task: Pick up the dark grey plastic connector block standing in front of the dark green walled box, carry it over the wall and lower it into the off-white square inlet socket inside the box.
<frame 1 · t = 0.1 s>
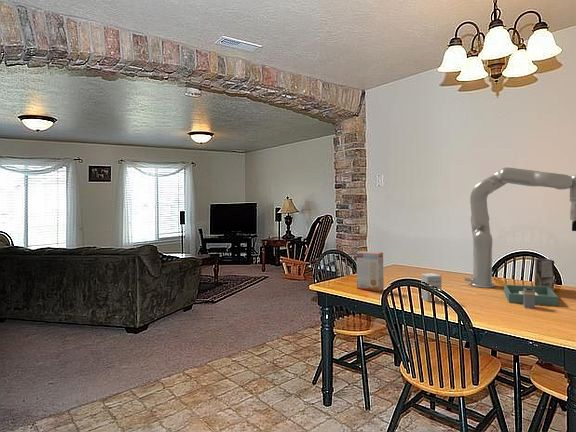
walled box: (529, 298, 201), on the table
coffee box: (544, 289, 220), on the table
cracker box: (370, 289, 228), on the table
connector: (528, 307, 186), on the table
supplement box: (431, 300, 202), on the table
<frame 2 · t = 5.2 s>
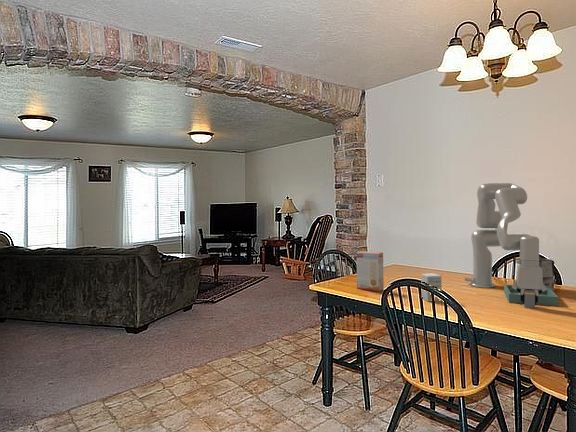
hand: (528, 303, 186), 2 cm above the table, tool pointing down, fingers closed on connector, 4 cm apart
connector: (528, 306, 186), on the table, touching gripper
everything else where it was.
when the fingers open (3 cm above the table, at t = 10.6 s): connector stays where it is, resting on walled box.
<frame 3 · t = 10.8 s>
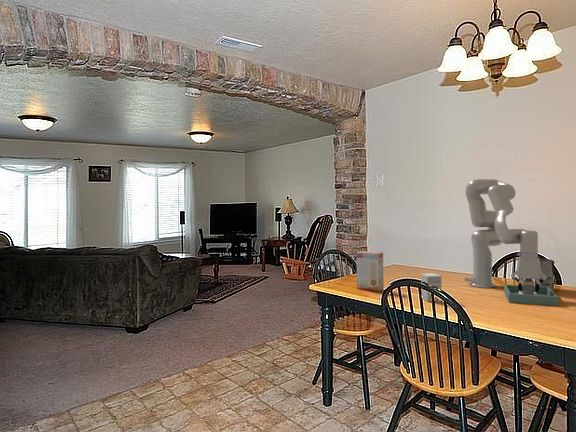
hand: (528, 291, 203), 3 cm above the table, tool pointing down, fingers open, 6 cm apart
connector: (528, 296, 203), point 1 cm above the table, touching walled box
everything else where it was.
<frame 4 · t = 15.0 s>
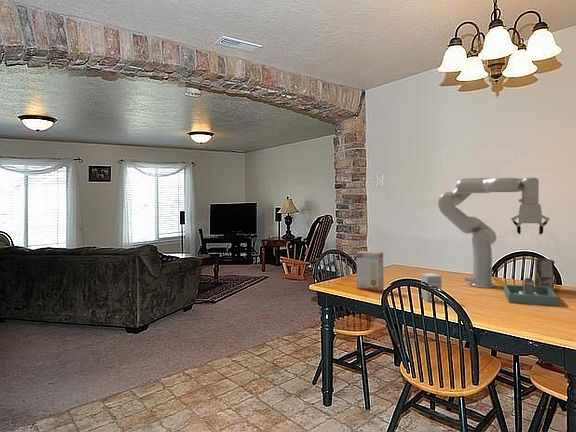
hand: (529, 234, 214), 30 cm above the table, tool pointing down, fingers open, 9 cm apart
nothing on the table moved.
at the end: connector 0.1 cm from the target spot on the walled box, point 0.8 cm above the walled box's base; connector tilted 0°; the gripper is holding nothing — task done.
